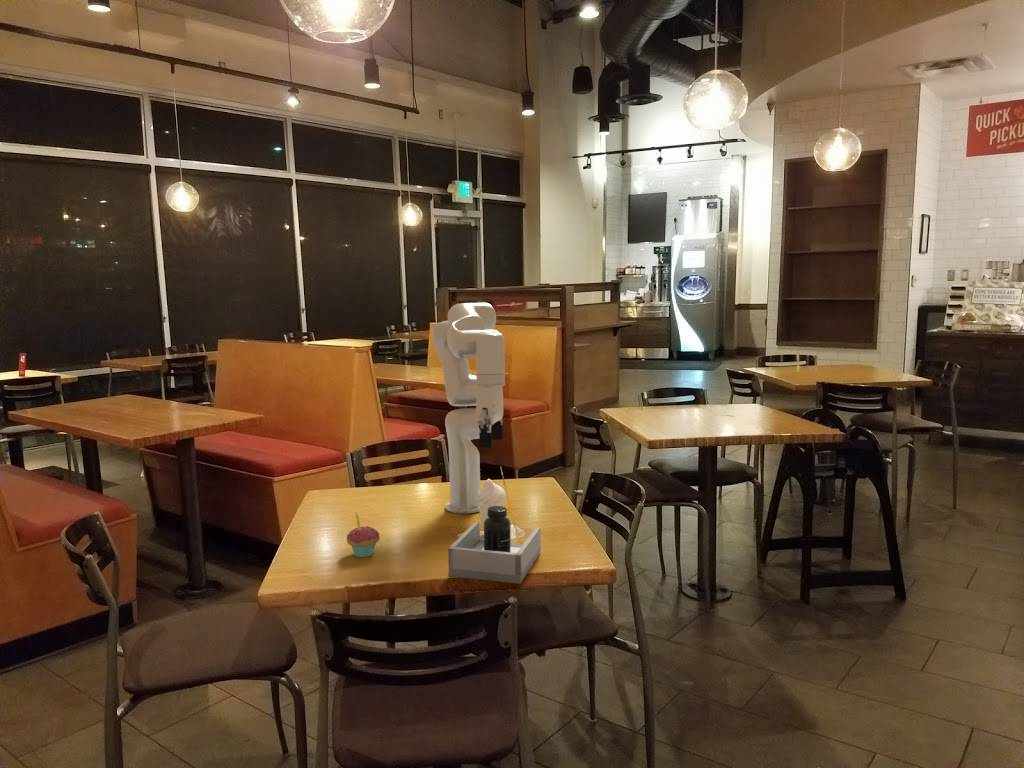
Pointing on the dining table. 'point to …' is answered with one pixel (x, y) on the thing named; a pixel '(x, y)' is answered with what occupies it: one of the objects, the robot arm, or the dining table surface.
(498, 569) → the dock
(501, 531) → the supplement bottle
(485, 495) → the soft serve ice cream cone
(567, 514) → the dining table surface
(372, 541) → the cupcake
